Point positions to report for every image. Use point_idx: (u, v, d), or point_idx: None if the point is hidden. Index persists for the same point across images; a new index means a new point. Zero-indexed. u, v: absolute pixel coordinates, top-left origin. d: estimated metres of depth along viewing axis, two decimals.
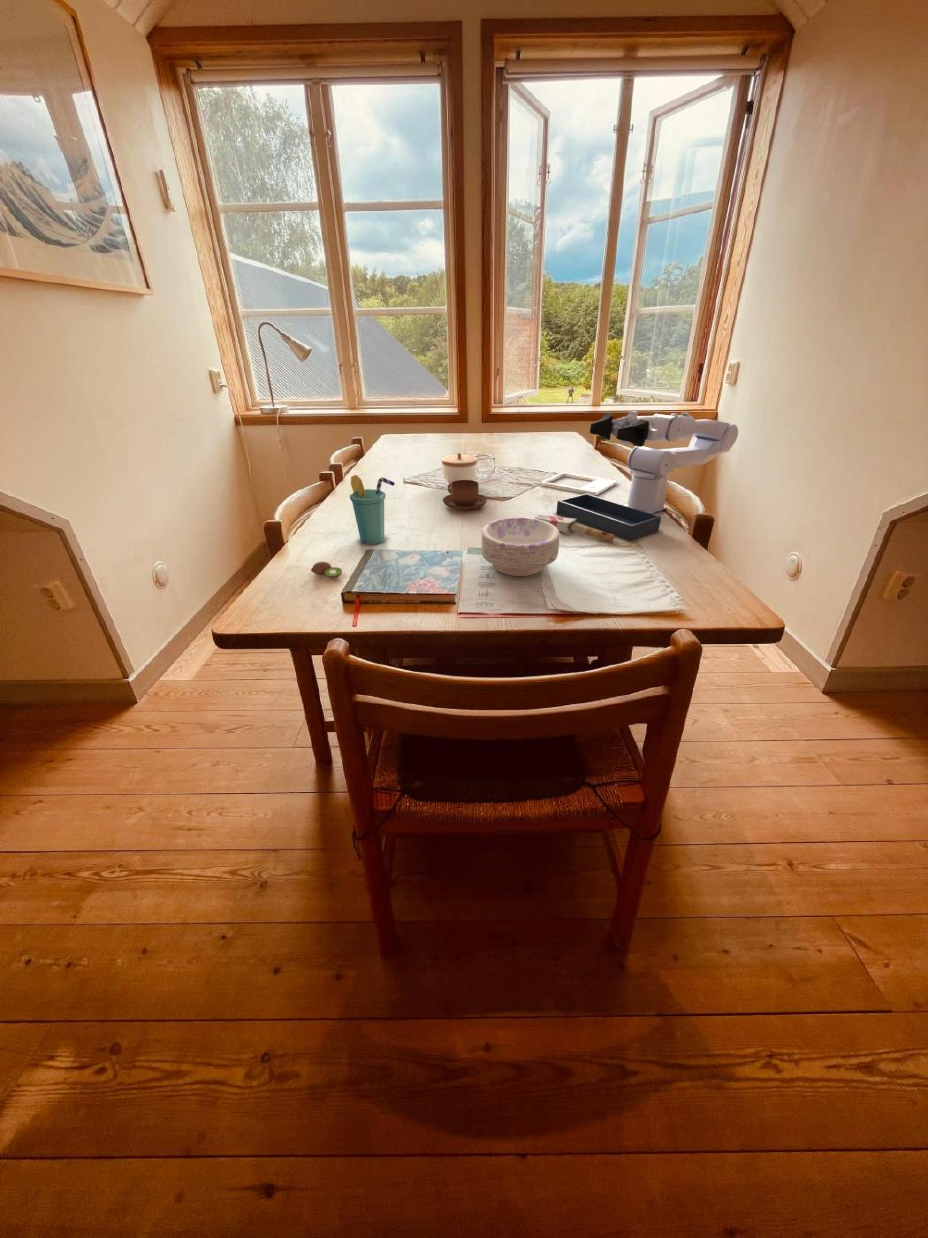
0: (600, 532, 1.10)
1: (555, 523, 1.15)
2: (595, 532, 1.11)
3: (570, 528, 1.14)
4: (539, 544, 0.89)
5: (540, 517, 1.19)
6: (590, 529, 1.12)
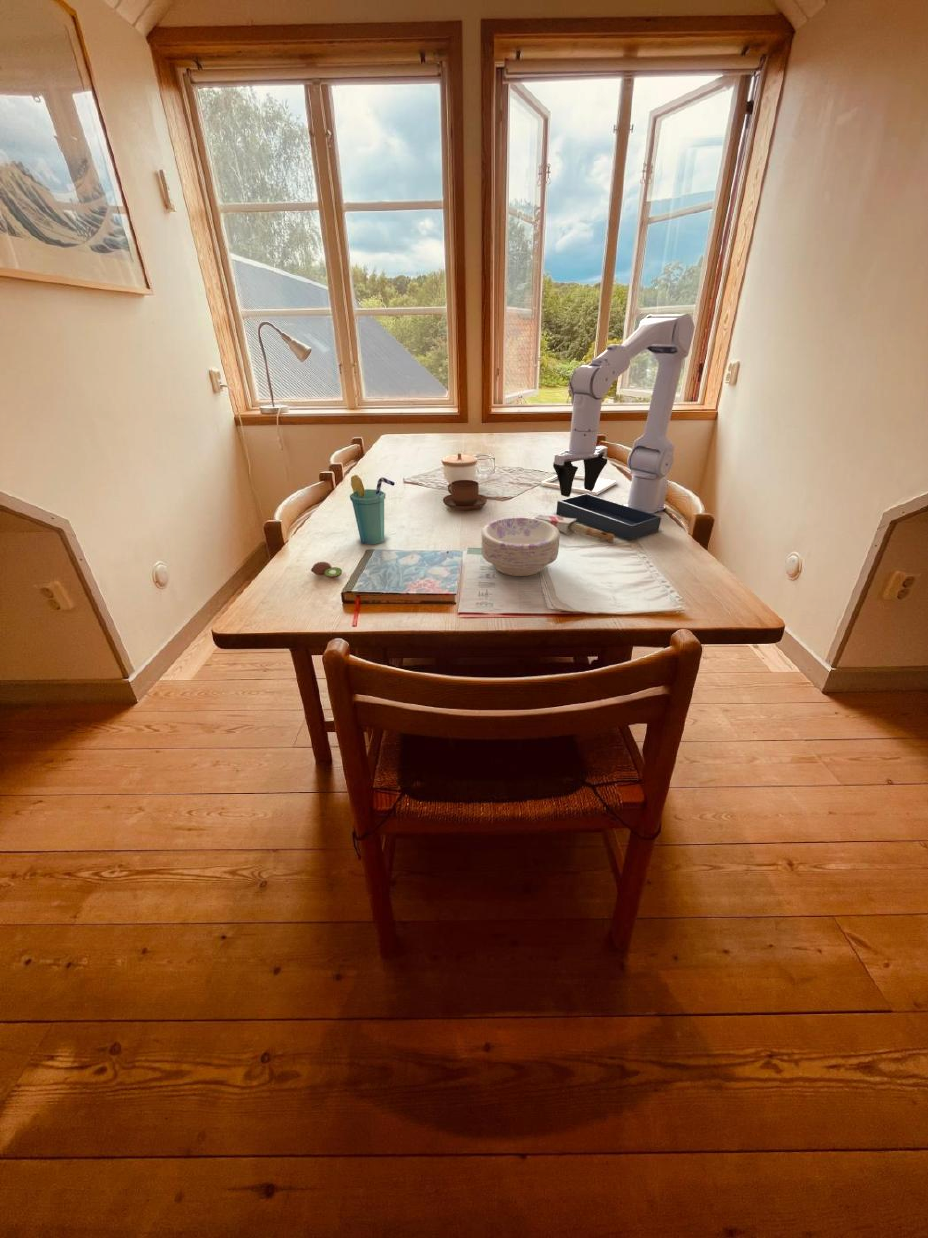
0: (600, 532, 1.10)
1: (555, 523, 1.15)
2: (595, 532, 1.11)
3: (570, 528, 1.14)
4: (539, 544, 0.89)
5: (540, 517, 1.19)
6: (590, 529, 1.12)
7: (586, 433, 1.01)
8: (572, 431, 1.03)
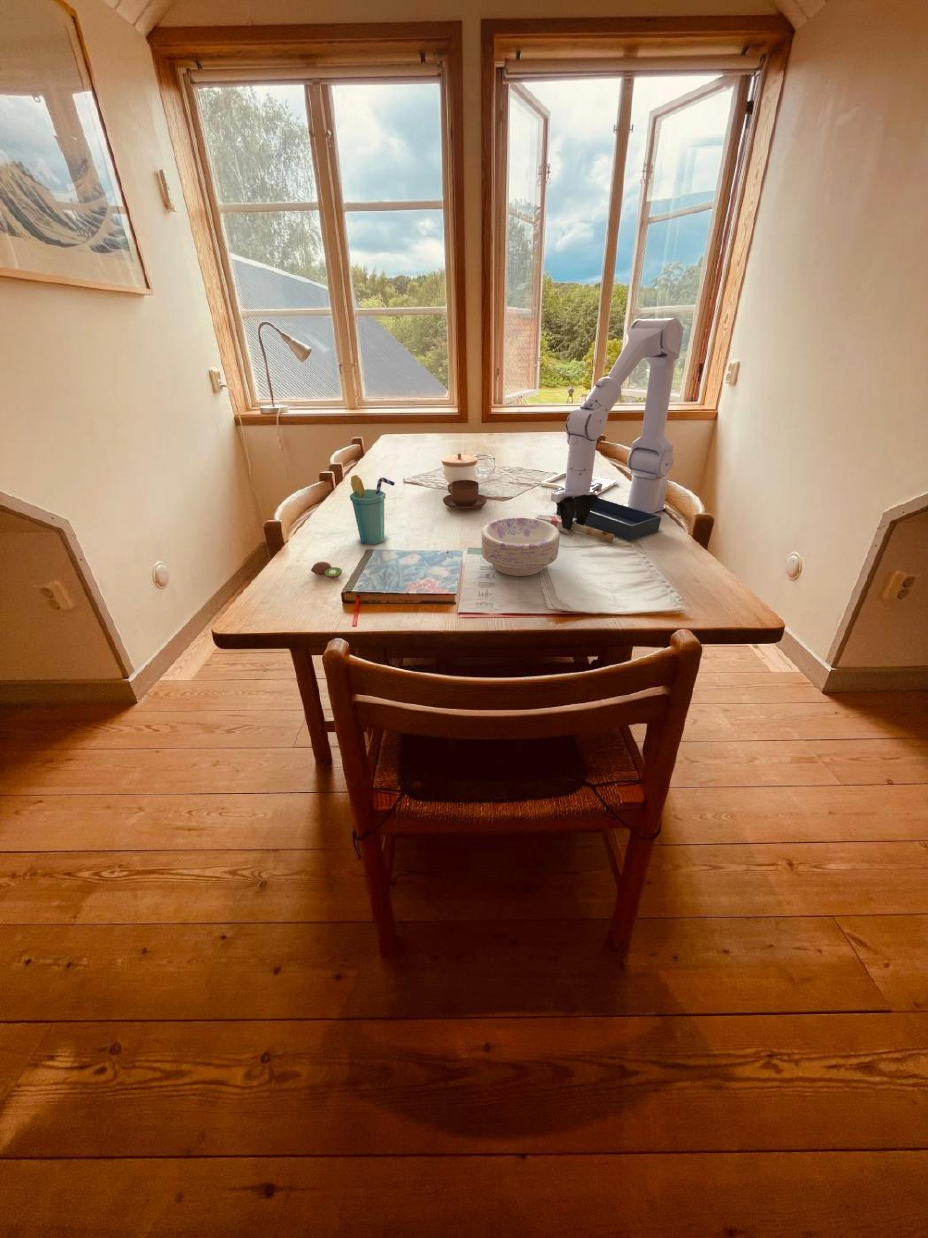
0: (600, 532, 1.10)
1: (555, 523, 1.15)
2: (596, 532, 1.11)
3: None
4: (539, 544, 0.89)
5: (540, 517, 1.19)
6: (590, 529, 1.12)
7: (581, 472, 1.05)
8: (568, 470, 1.07)
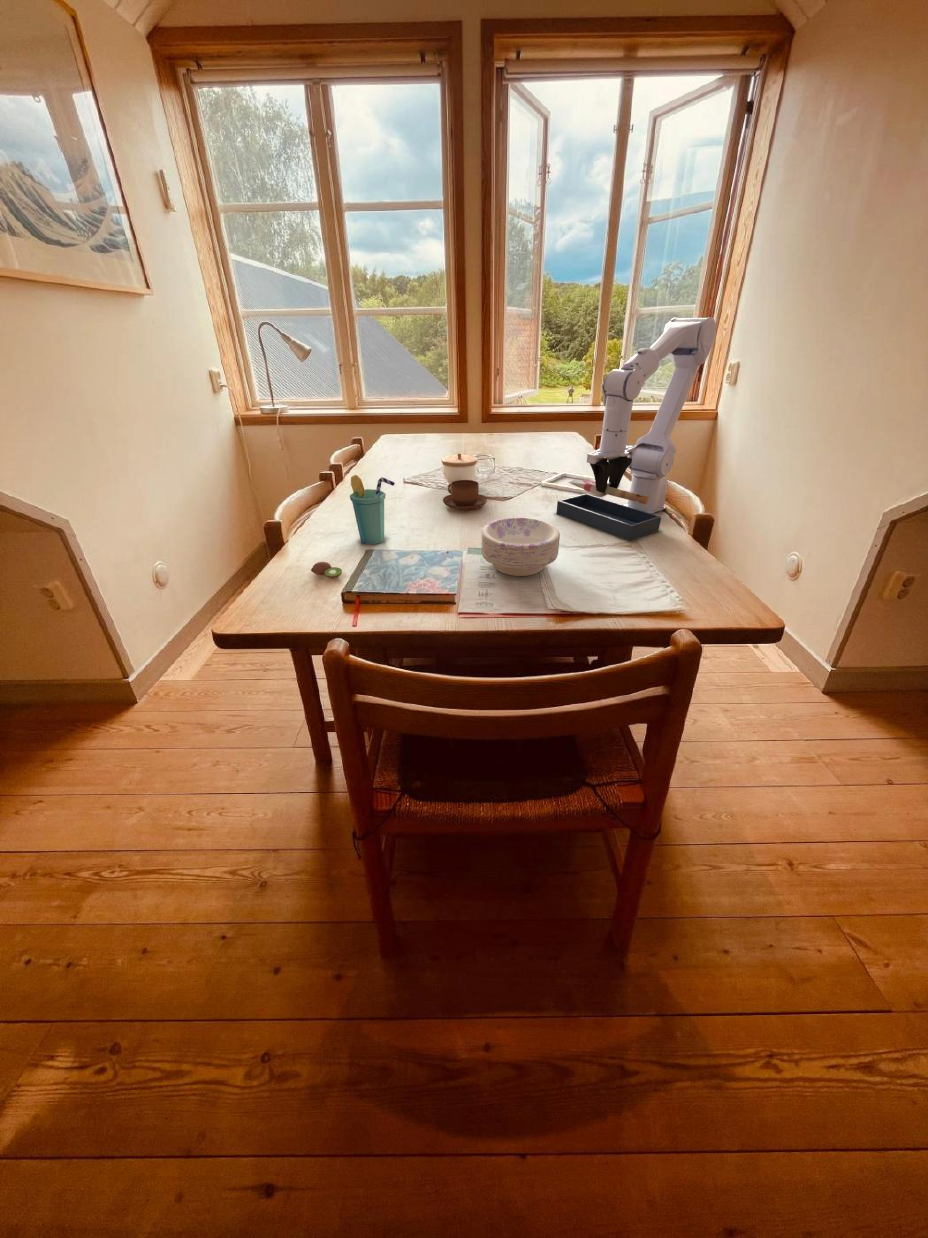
0: (634, 494, 1.12)
1: (589, 486, 1.17)
2: (630, 494, 1.12)
3: None
4: (539, 544, 0.89)
5: (574, 481, 1.21)
6: (624, 491, 1.13)
7: (617, 433, 1.07)
8: (604, 431, 1.09)
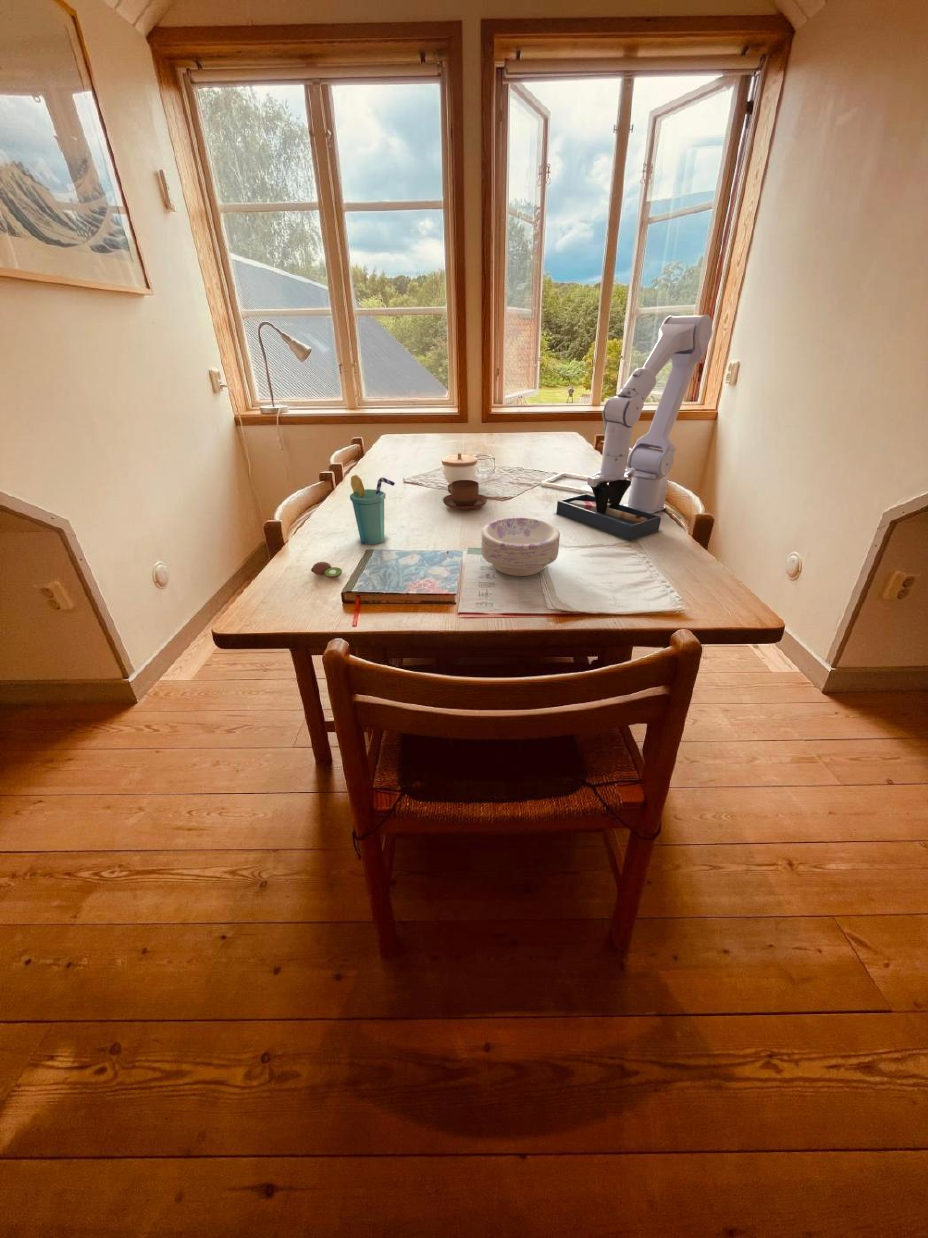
0: (633, 516, 1.15)
1: (589, 507, 1.21)
2: (629, 516, 1.16)
3: None
4: (539, 544, 0.89)
5: (575, 502, 1.24)
6: (624, 513, 1.17)
7: (617, 458, 1.10)
8: (604, 455, 1.12)
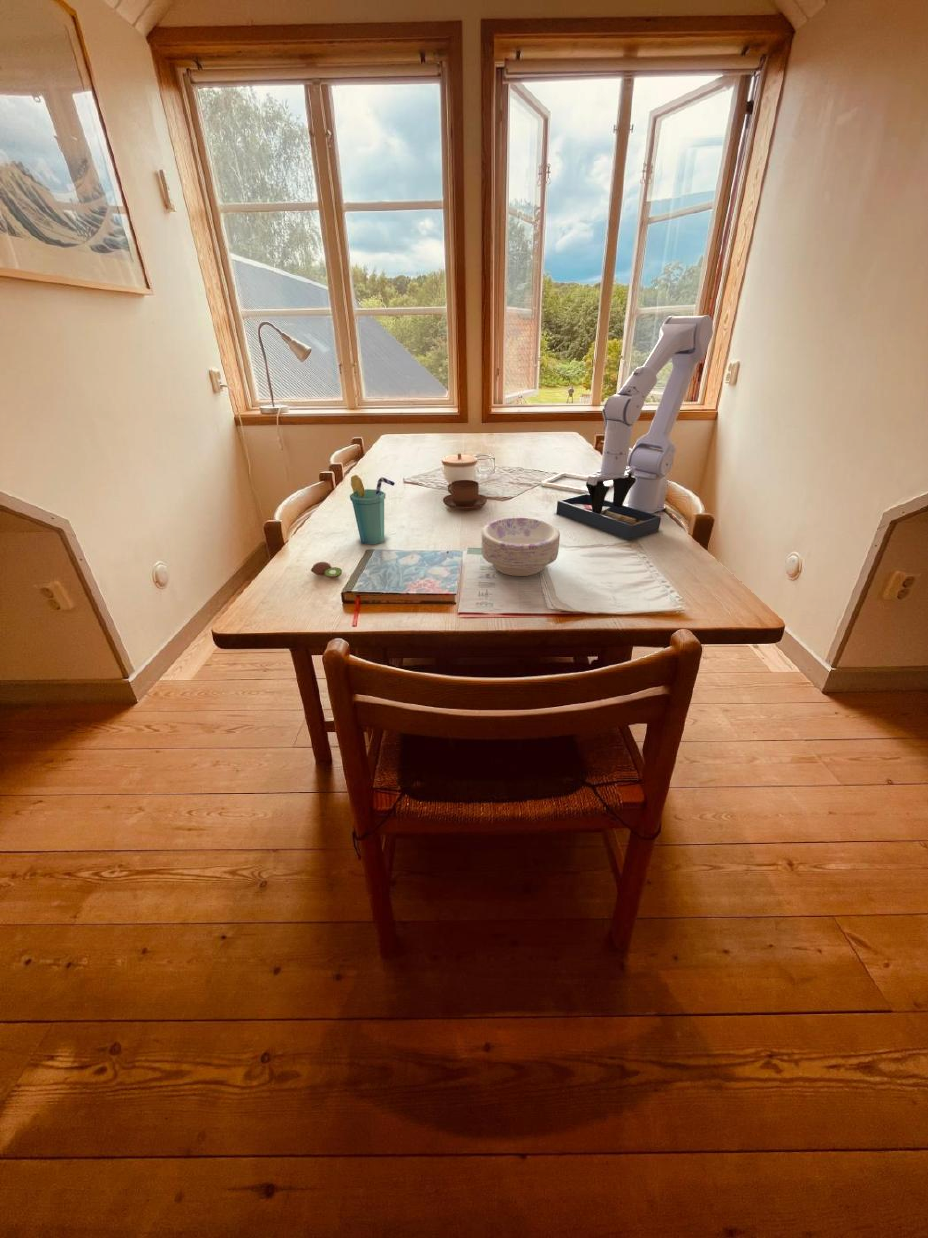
0: (633, 519, 1.16)
1: None
2: (628, 519, 1.16)
3: None
4: (539, 544, 0.89)
5: (574, 505, 1.25)
6: (623, 517, 1.17)
7: (618, 456, 1.10)
8: (604, 454, 1.12)
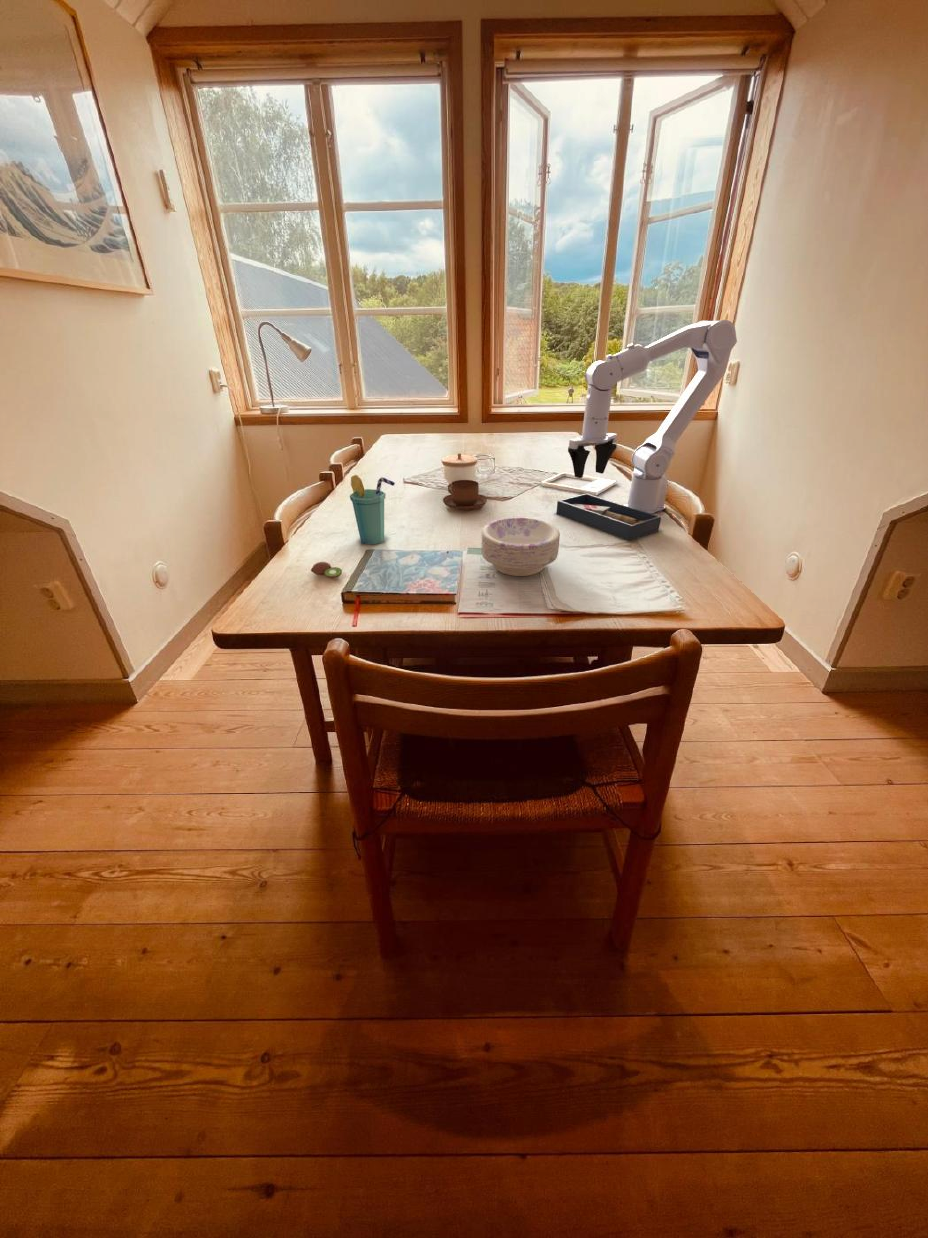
0: (633, 519, 1.16)
1: None
2: (628, 519, 1.16)
3: None
4: (539, 544, 0.89)
5: (574, 505, 1.25)
6: (623, 517, 1.17)
7: (597, 421, 1.14)
8: (585, 419, 1.16)
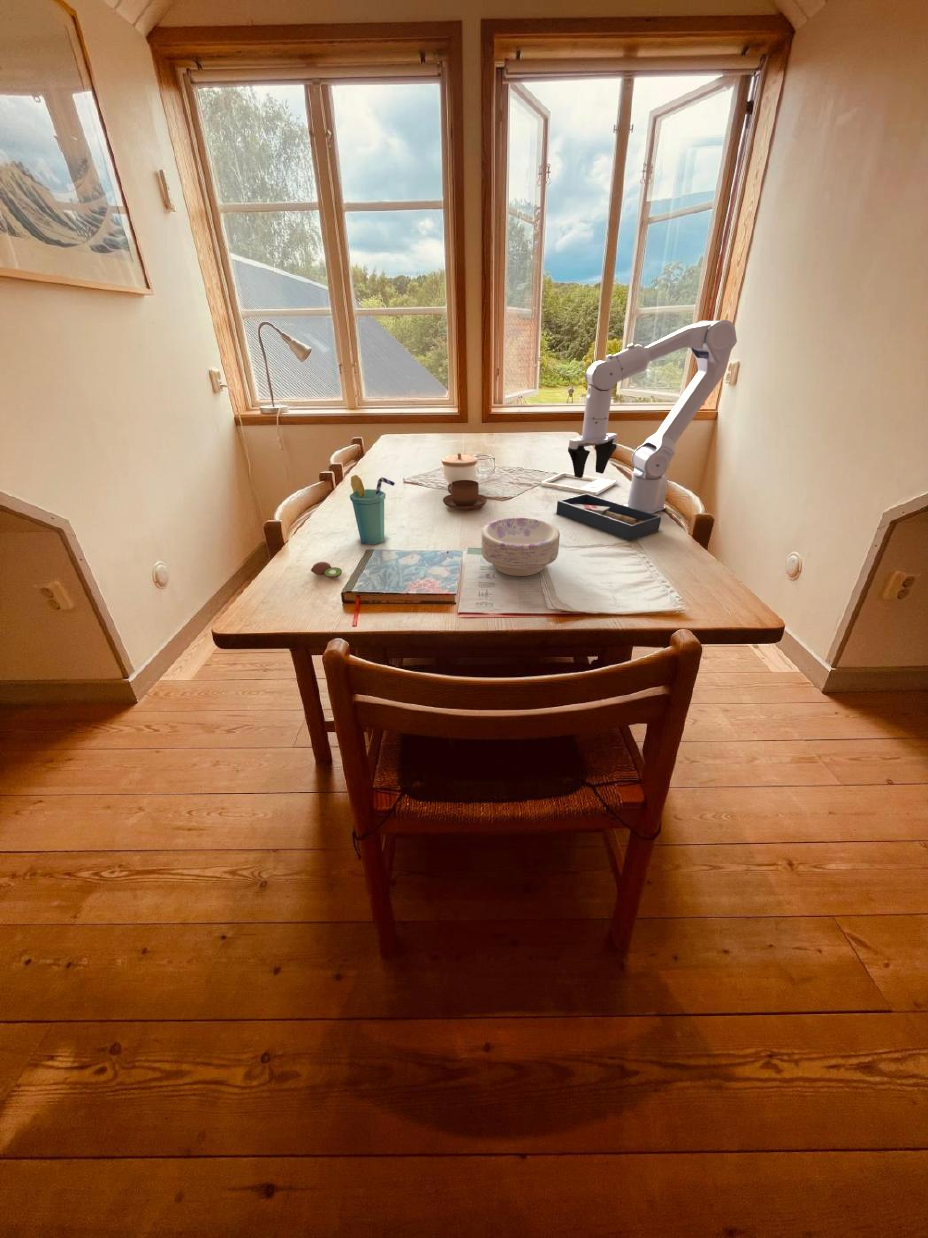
0: (633, 519, 1.16)
1: None
2: (628, 519, 1.16)
3: None
4: (539, 544, 0.89)
5: (574, 505, 1.25)
6: (623, 517, 1.17)
7: (597, 421, 1.14)
8: (585, 419, 1.16)
